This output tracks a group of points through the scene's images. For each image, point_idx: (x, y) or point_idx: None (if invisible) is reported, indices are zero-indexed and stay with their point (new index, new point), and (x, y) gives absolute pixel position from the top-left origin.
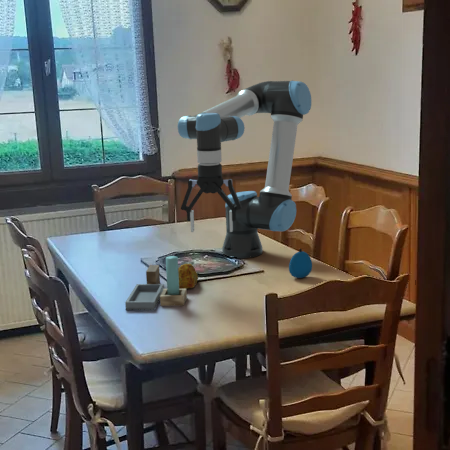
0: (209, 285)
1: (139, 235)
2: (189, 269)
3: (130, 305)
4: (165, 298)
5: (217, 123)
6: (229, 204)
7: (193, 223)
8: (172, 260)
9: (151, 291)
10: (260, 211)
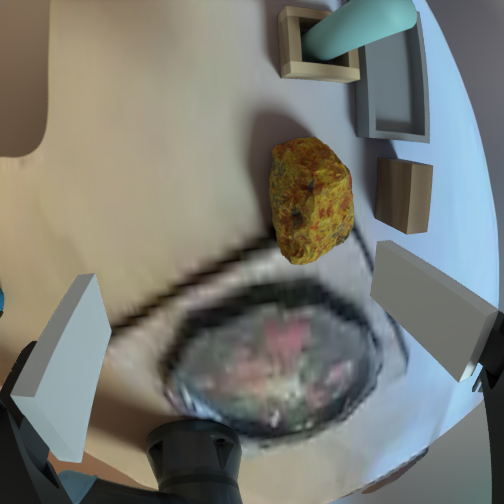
0: (225, 200)
1: (391, 454)
2: (308, 171)
3: None
4: None
5: None
6: (7, 486)
7: (406, 293)
8: None
9: (386, 124)
10: None
